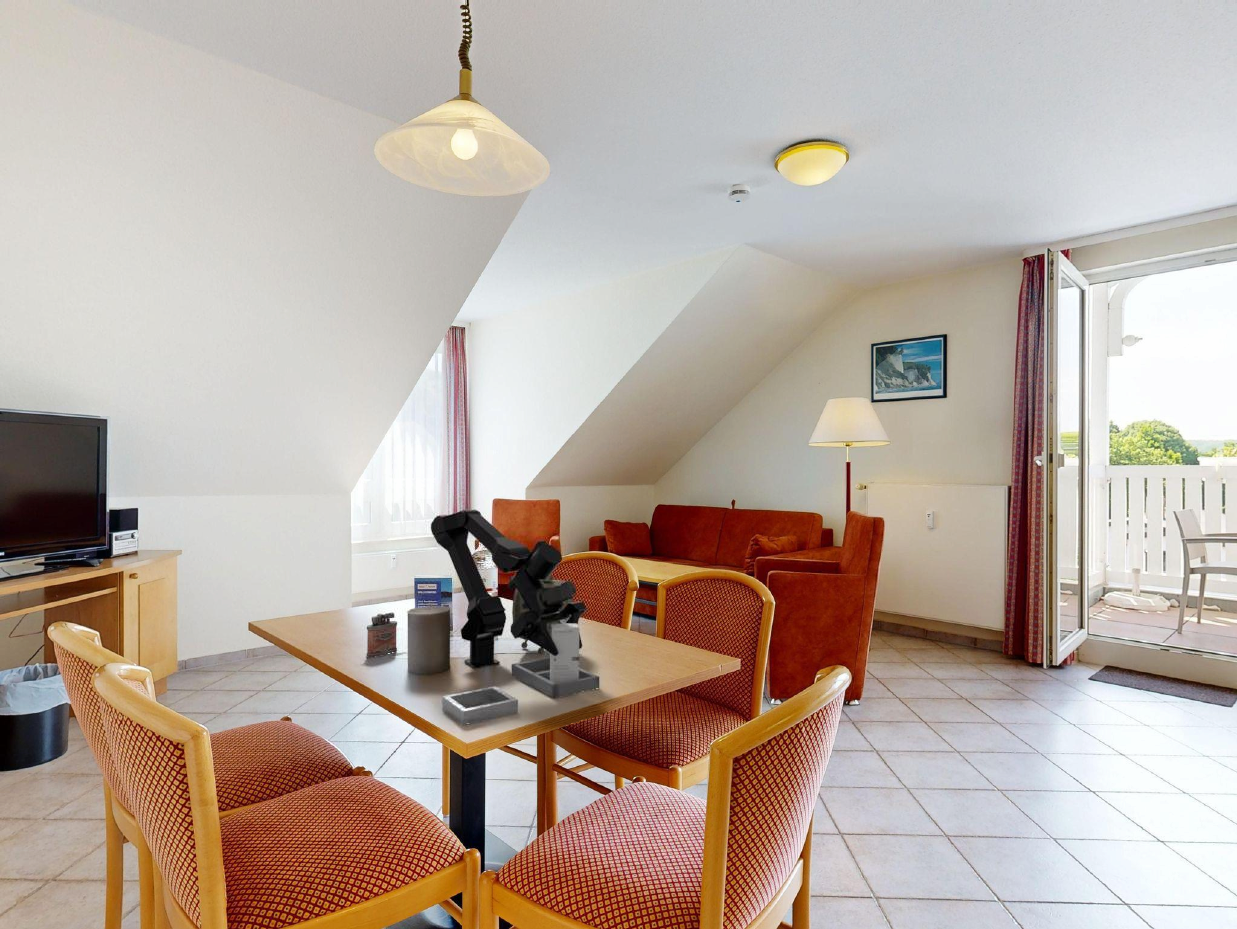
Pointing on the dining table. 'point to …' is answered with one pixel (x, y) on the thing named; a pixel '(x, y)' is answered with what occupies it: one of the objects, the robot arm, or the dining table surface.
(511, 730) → the dining table surface
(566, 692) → the rack
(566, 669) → the skincare box
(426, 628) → the pillar candle
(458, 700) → the socket
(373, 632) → the lighter
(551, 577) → the tabletop clock
